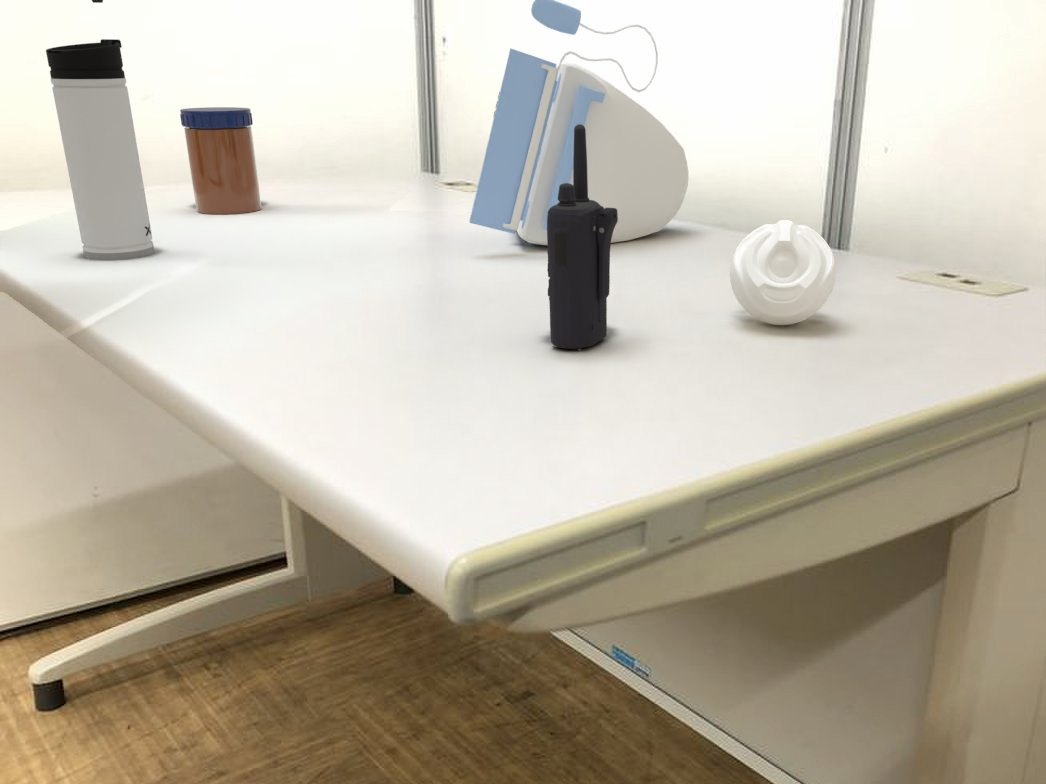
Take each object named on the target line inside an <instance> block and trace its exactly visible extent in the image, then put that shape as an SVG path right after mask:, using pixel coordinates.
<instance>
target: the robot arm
mask: <svg viewBox="0 0 1046 784" xmlns="http://www.w3.org/2000/svg"><path fill="white" fill-rule="evenodd" d="M91 2H92V4H93V3H94V4H95V3H96V4H102V3H104V0H91Z"/></svg>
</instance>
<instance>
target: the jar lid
mask: <svg viewBox="0 0 1046 784" xmlns="http://www.w3.org/2000/svg"><path fill="white" fill-rule="evenodd" d="M179 111H180V112H179V113H180V114H179V116H180V124H181V126H182V127H184V128H185V127H192V128H229V127H245V126H251V127H252V125H253V124H254V123H253V115H252V111H251V108H248V107H235V106H234V107H232V106H231V107H230V106H226V107H225V106H217V107H216V106H215V107H214V106H213V107H187V108H181V109H180V110H179Z"/></svg>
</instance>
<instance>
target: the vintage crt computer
mask: <svg viewBox="0 0 1046 784" xmlns="http://www.w3.org/2000/svg"><path fill="white" fill-rule="evenodd" d="M530 11H531V15H532V17H533V19H534V20H536V22H538V23H539V24H541V25H543V26H544V27H546V28H547V29H550V30H553V31H556V32H558V33H564V34H567V35H573V36H574V35H576V34H577V32H578V30H579V27H582V28H584V29H586V30H588V31H591V32H593V33H596V34H601V35H612V34H616V33H619V32H621V31H624V30H626V29H628V28H636V27H637V28H639V29H643V30H645V32H646V33H647V34H648V35H649V36H650V39H651V41H652V43H653V47H654V51H655V65H654V69H653V74H652V76H651V78H650V80H649V82H648V83H647V84H646V85H645V87H643V88H640V89H637V88H636V87H633V85H632V84H631V83H630V82H629V80H628V78H627V76H626V73H625V71H624V68H623V65H621V64H620V62H619V61H618V60H616V59H614V58H588V57H584V56H581V55H580V54H578V53H576V52H574V51H571V50H569V51H567V52H565V53H564V54H563V56H562V57H561V58H560V61H559V63H558V65H557V63H555V62H551V61H549V60H546V59H544V58H542V57H541V58H540V57H539V56H538V57H537V56H534V55H532V54H529V53H526V52H523V51H520V50H518V49H514V48H512V47H510V48H509V51H508V55H507V59H506V63H505V68H504V73H503V76H502V81H501V85H500V90H499V91H498V96H497V101H496V104H495V110H494V113H493V119H492V123H491V126H490V131H489V136H488V140H487V145H486V149H485V153H484V157H483V162H482V166H481V170H480V174H479V179H478V182H477V187H476V191H475V195H474V199H473V203H472V209H471V212H470V217H469V220H468V223H469V224H473V225H477V226H481V227H485V228H489V229H493V230H497V231H501V232H505V233H510V234H515V233H516V232H517V235H518V236H519V237H520V238H521V239H522V240H523V241H525V242H527V243H529V244H534V245H542V246H547V215H548V211H549V209H550V208H551V207H552V206H554V205H556V204H558V203H559V200H558V193H559V186H560V185H561V184H563V183H570V184H572V185H573V156H574V128H575V126H576V125H578V124H581V125H583V126H584V127H585V130H586V151H587V178H588V198H589V200H594V201H596V202H598V203H599V204H600V206H603V207H604V209H605V208H615V209H617V214H618V221H617V224H616V226H615V228H614V231H613V234H612V239H611V244H612V243H620V242H625V241H632V240H635V239H638V238H642V237H645V236H648V235H652V234H654V233H657V232H660V231H662V230H663V229H664V228H665V227H666V226H667V225H668V224H669V223H670V222H671V221H672V220H673V219H674V217H675V216H676V215H677V214H678V212H679V210H680V209H681V207H682V205H683V203H684V200H685V197H686V194H687V193H686V192H687V190H688V186H689V167H688V161H687V157H686V152H685V149H684V147H683V146H682V145H681V144H680V142H679V141H678V140H677V139H676V137H675V136H674V135H673V134H672V133H671V132H670V131H669V129H668V128H667V127H666V126H665V124H663V123H662V122H661V121H660V120H659V119H658V118H657V117H656V116H654V115H653V114H652V113H651V112H650V111H648V110H647V109H646V108H645V107H643V106H641V105H640V103H638V102H636V101H635V100H634V99H632V98H631V97H629V96H628V95H627V94H626V93H624V92H623V91H621V90H620V89H618V87H615V86H614V85H612V84H611V83H610V82H608V81H607V80H605V79H604V78H603V77H601V76H600V75H598V74H596V73H595V72H594V71H592V70H589V69H587V68H586V67H585V68H584V67H582V66H581V65H578V64H576V63H567V62H565V63H562V62H563V61H564V59H565V58H566V56H568V55H570V54H571V55H573V56H576V57H578V58H579V59H581V60H584V61H588V62H601V61H610V62H613V63H616V64H617V66H618V67H619V68H620V70H621V72H622V74H623V78H624V79H625V81H626V83H627V85H628V86H629V87H630V89H632V91H634V92H637V93H640V92H643V91H645V90H647V89H648V87H649V86H650V85H651V84H652V83H653V80H654V78H655V76H656V72H657V67H658V49H657V44H656V41H655V40H654V39H655V38H654V37H653V35H652V33H651V32H650V31H649V30H648V28H646V27H645V26H642V25H640V24H630V25H627V26H623V27H621V28H618V29H616V30H613V31H605V32H604V31H600V30H595V29H593V28H591V27H588V26H587V25H584V24H583V23H581V18H582V11H581V10H580V9H578V8H576V7H573V6H572V5H569V4H566V3H562V2H560V1H557V0H533V3H532V5H531V10H530Z"/></svg>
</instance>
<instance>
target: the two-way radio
mask: <svg viewBox="0 0 1046 784" xmlns="http://www.w3.org/2000/svg"><path fill="white" fill-rule="evenodd" d="M558 200H559V203H558V204H556V205H554V206H552V207H551V208H550V209H549V211H548V215H547V245H546V246H547V268H546V269H547V270H546V271H547V276H548V288H547V297H548V301H549V330H550V333H549V334H550V342H551V344H552V345H553V346H554V347H556V348H557V349H565V350H574V351H581V350H582V348H586V347H590V346H593V345H595V344H597V343H599V342H600V341H602V340H603V339H605V338H606V337H607V332H608V321H607V319H608V318H607V317H608V315H607V311H608V307H607V306H608V303H607V302H608V300H607V299H608V297H609V296H610V285H611V284H610V283H611V282H610V280H611V279H610V275H611V273H610V271H611V269H610V267H611V266H610V265H611V246H612V243H611V239H612V234H613V231H614V228H615V226H616V224H617V221H618V214H617V209H615V208H605V209H604V207H603V206H600V204H599V203H598V202H596V201H594V200H589V198H588V178H587V151H586V130H585V127H584V126H583V125H581V124H578V125H576V126H575V128H574V156H573V185H572V184H570V183H563V184H561V185H560V186H559V193H558Z"/></svg>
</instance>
